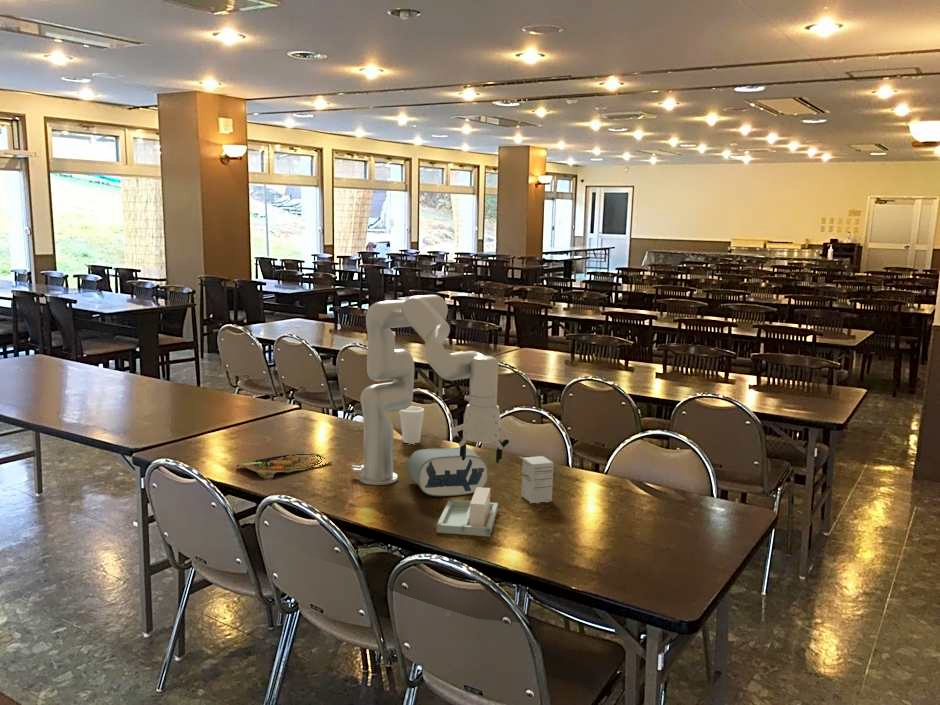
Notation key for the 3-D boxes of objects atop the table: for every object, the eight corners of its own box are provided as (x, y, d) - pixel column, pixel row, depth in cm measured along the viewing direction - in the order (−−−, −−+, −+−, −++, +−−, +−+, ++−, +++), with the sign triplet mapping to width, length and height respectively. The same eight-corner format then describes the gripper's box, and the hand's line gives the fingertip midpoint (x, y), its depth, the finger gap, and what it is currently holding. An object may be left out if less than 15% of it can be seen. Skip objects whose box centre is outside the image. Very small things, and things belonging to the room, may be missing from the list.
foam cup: (428, 441, 306) (428, 408, 304) (414, 447, 298) (414, 413, 296) (408, 437, 311) (408, 405, 309) (393, 442, 303) (394, 409, 301)
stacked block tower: (520, 496, 247) (521, 457, 245) (542, 494, 249) (543, 455, 247) (530, 504, 240) (532, 464, 238) (552, 502, 243) (554, 462, 241)
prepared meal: (305, 444, 287) (334, 454, 274) (305, 453, 288) (334, 464, 275) (234, 462, 267) (262, 473, 255) (235, 472, 268) (263, 484, 255)
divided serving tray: (436, 532, 217) (436, 524, 216) (448, 506, 237) (449, 499, 236) (489, 536, 215) (490, 528, 214) (497, 510, 235) (498, 502, 234)
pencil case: (418, 499, 241) (418, 458, 240) (406, 482, 260) (406, 444, 258) (488, 494, 247) (488, 454, 246) (471, 478, 265) (472, 440, 264)
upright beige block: (469, 527, 218) (470, 503, 217) (476, 510, 232) (476, 487, 231) (483, 529, 218) (484, 504, 217) (489, 511, 232) (490, 488, 231)
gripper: (450, 401, 217) (448, 461, 220) (513, 406, 215) (510, 466, 218) (454, 395, 224) (452, 454, 227) (515, 399, 222) (512, 458, 225)
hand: (480, 460), depth 223 cm, fingers open, 9 cm apart
